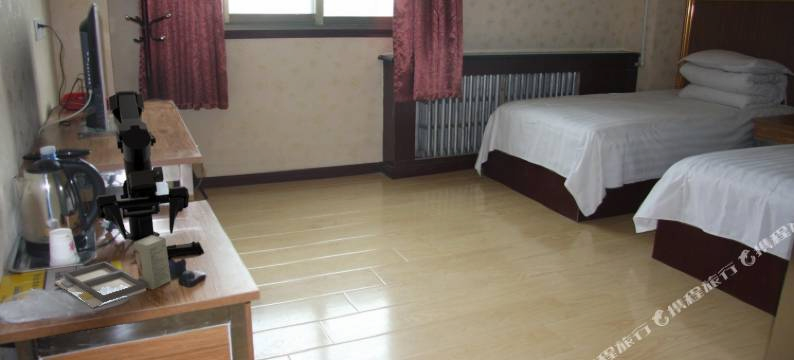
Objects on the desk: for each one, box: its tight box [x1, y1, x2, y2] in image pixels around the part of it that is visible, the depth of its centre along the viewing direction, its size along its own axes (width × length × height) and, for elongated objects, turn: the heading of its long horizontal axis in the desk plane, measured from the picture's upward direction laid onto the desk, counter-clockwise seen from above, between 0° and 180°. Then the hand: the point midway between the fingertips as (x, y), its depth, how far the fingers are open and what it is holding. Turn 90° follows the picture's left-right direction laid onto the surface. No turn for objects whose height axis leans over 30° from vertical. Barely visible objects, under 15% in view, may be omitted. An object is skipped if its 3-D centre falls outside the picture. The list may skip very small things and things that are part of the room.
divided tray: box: [54, 260, 147, 309], centre depth 133 cm, size 18×11×2 cm, turn 49°
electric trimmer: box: [133, 240, 205, 258], centre depth 150 cm, size 4×16×3 cm, turn 112°
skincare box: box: [133, 235, 171, 290], centre depth 133 cm, size 5×4×10 cm
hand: (149, 235), depth 134 cm, fingers open, 9 cm apart
